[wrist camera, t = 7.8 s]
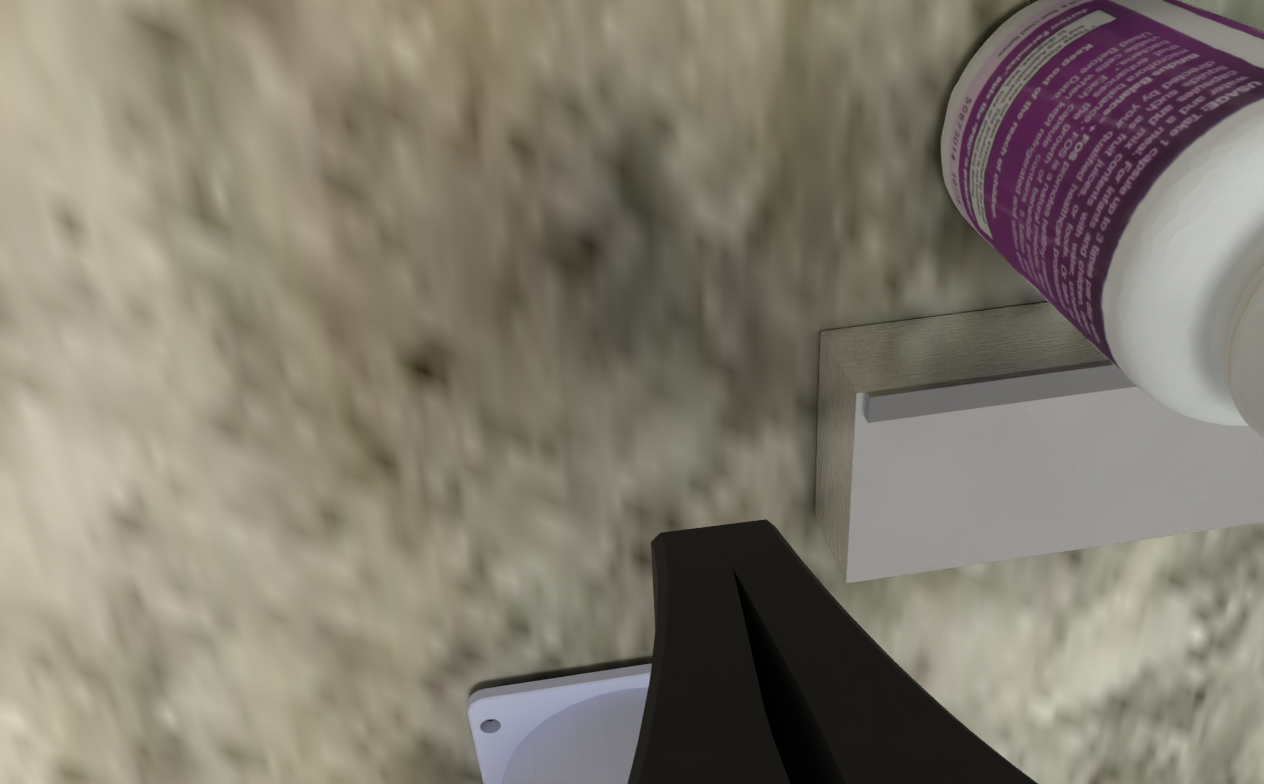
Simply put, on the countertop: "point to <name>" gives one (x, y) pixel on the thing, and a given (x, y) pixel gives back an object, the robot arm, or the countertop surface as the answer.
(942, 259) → the countertop surface
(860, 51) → the countertop surface
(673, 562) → the robot arm
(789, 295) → the countertop surface
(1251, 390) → the pill bottle
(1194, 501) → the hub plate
